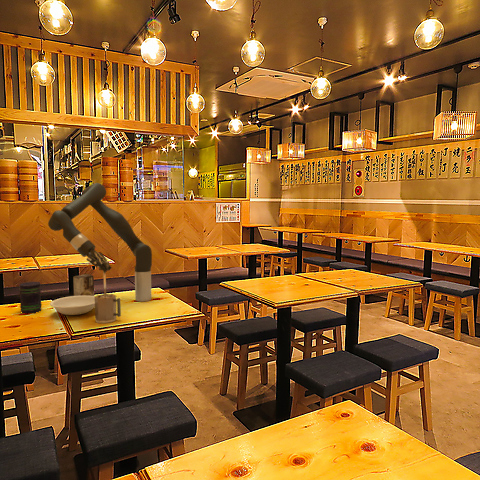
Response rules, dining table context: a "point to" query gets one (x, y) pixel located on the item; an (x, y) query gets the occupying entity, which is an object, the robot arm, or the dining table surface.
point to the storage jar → (30, 297)
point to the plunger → (105, 279)
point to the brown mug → (107, 308)
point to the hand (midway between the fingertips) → (108, 270)
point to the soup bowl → (74, 304)
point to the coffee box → (83, 285)
